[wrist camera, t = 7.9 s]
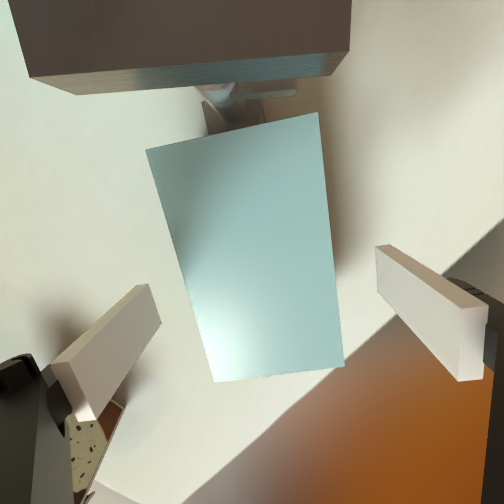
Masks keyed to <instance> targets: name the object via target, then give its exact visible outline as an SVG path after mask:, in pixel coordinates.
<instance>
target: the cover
mask: <svg viewBox="0 0 504 504" xmlns="http://www.w3.org/2000/svg"><path fill="white" fill-rule="evenodd" d="M145 151H146V154H147V157H148V161H149V164H150V167H151V171H152V174H153V177H154V181H155V184H156V188H157V191H158V194H159V198H160V201H161V204H162V208H163V211H164V214H165V218H166V221H167V224H168V228H169V231H170V234H171V238H172V241H173V244H174V248H175V251H176V255H177V258H178V261H179V265H180V268H181V271H182V275H183V278H184V281H185V285H186V288H187V291H188V295H189V298H190V301H191V305H192V308H193V312H194V315H195V318H196V322H197V325H198V328H199V332H200V335H201V338H202V342H203V345H204V348H205V352H206V355H207V358H208V362H209V365H210V368H211V372H212V375H213V379H214V382H223V381H231V380H239V379H247V378H255V377H263V376H271V375H279V374H287V373H295V372H303V371H311V370H320V369H328V368H336V367H344V366H345V365H344V355H343V346H342V336H341V327H340V317H339V308H338V298H337V289H336V279H335V269H334V260H333V250H332V241H331V231H330V222H329V212H328V203H327V193H326V183H325V174H324V164H323V155H322V145H321V136H320V126H319V117H318V112H314V113H310V114H305V115H301V116H296V117H292V118H287V119H282V120H278V121H273V122H269V123H264V124H260V125H255V126H251V127H246V128H242V129H237V130H232V131H228V132H223V133H219V134H214V135H210V136H205V137H201V138H196V139H192V140H187V141H182V142H178V143H173V144H169V145H164V146H160V147H155V148H151V149H146V150H145Z"/></svg>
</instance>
